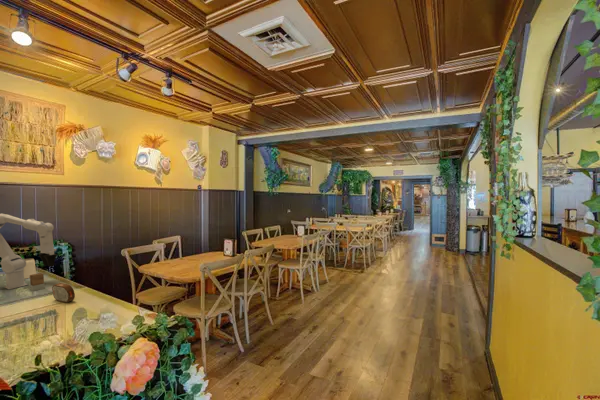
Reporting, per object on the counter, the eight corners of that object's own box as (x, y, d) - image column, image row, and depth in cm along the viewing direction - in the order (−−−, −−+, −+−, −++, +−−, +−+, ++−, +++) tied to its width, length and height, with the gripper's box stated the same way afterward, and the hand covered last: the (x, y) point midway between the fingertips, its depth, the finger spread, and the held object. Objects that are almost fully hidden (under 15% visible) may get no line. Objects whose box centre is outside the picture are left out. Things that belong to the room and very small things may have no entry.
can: (39, 275, 185) (37, 257, 184) (28, 279, 178) (26, 260, 178) (30, 276, 185) (28, 258, 185) (19, 279, 179) (17, 260, 178)
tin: (76, 301, 134) (74, 284, 134) (68, 304, 131) (66, 286, 131) (59, 297, 141) (57, 281, 140) (51, 300, 138) (50, 283, 137)
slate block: (30, 290, 156) (30, 284, 156) (42, 287, 160) (42, 282, 160) (32, 291, 153) (32, 286, 153) (44, 288, 157) (44, 283, 157)
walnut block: (30, 284, 156) (29, 275, 156) (41, 282, 160) (40, 272, 160) (33, 285, 154) (32, 276, 154) (44, 283, 158) (43, 273, 157)
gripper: (59, 242, 165) (62, 265, 166) (50, 241, 173) (52, 262, 174) (44, 245, 160) (46, 268, 160) (35, 243, 167) (37, 265, 168)
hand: (48, 265), depth 167 cm, fingers open, 7 cm apart
